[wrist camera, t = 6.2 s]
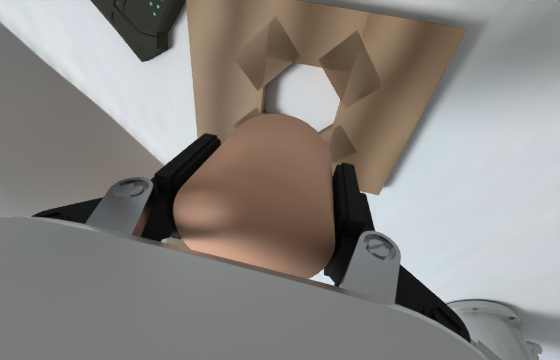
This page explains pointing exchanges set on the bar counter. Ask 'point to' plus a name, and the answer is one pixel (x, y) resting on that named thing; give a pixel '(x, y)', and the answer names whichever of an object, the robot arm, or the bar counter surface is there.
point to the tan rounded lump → (263, 198)
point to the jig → (335, 62)
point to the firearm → (142, 23)
